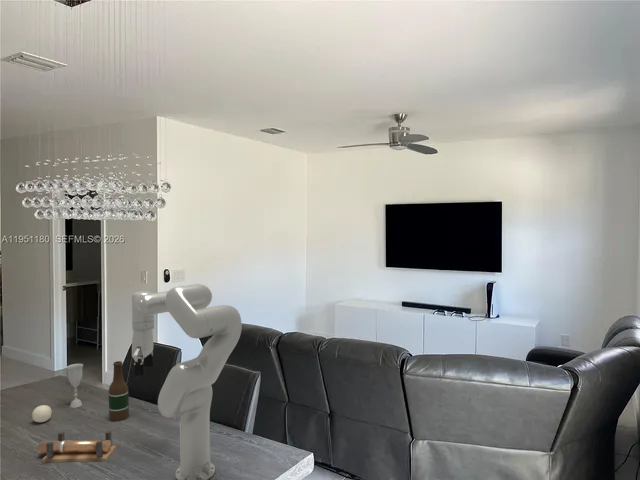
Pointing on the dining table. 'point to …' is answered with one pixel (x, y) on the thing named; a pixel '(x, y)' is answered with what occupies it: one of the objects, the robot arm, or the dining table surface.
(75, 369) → the chalice
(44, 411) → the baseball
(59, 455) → the base
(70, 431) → the dining table surface
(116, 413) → the beer bottle
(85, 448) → the tube
